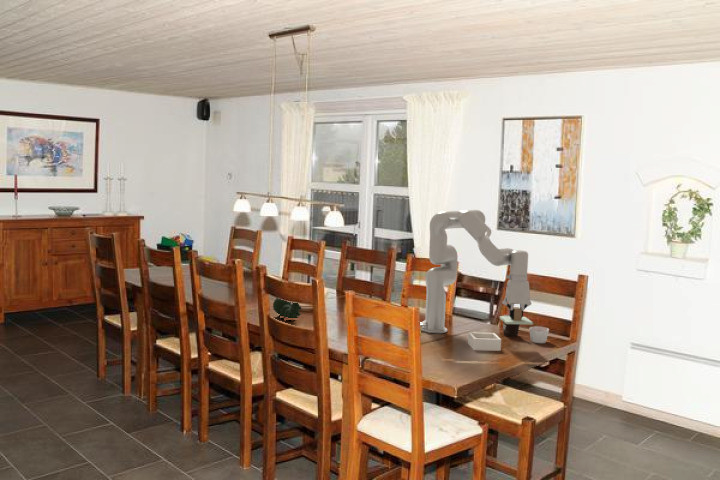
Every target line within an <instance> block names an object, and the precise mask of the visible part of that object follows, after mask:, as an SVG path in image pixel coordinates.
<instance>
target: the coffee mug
mask: <svg viewBox="0 0 720 480" xmlns="http://www.w3.org/2000/svg"><path fill="white" fill-rule="evenodd" d="M509 315H510V314H504V315H503V316H509ZM520 325H521V324H506V323H505V322H503V321H502V328H503V336H504V337H509V338H515V337H518V335H519V329H520Z"/></svg>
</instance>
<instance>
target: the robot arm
mask: <svg viewBox="0 0 720 480" xmlns="http://www.w3.org/2000/svg"><path fill="white" fill-rule="evenodd" d="M447 229H451V230H452V229H464V230H465V231H466V232H467V233H468V234H469V235H470V236H471V237H472V239H473V240H475V242H476V243H477V246H478V250H479V251H480V253H481V255H482V256H483V257H484V258H485V259H486V261H488V262H489V263H490V264H491V265H493V266H496V267H500V266H510V267H509V274H508V275H506V279H509V280H508V281H507V284H506V288H505V289H506V290H505V296H504V299H502V301H501V303H502V304H503V305H504V306H506V307H507V308H508V309H509V314H508V315H509V316H510V318H511V319H514V310H513V307H515V305H519V308H520V309H522V317H524V311H525V310H526V309H527V308H528V307H530V306H532V301H531V299H530V298H531V295H530V283H529V281H528V267H529V266H528V265H529V253H528V251H526V250H521V249H519V250H517V249H513V248H509V247H508V248H507V247H506V248H505V247H504V248H498V247H497V246H496V245H495V244H494V243H493V242H492V241H491V239H490V236H491V235H492V229H491V227H489V226H488V225H487V224H486V216H485V214H484V212H483V211H481V210H480V209H469V210H468V209H467V210H446V211H445V210H444V211H440V212H436V213H435V214H434V215H432V217H431V219H430V221H429V249H428V250H429V252H428V254H429V255H428V257H429V261H430V263H431V264H433V265H434V266H435V265H436V267H432V268H430V269H429V270H427V272H426V273H425V280H424V281H425V285H426V289H425V290H426V300H425V317H424V318H425V319H424V320H423V321H421V322H420V321H419V322H420V327H421V331H423V332H424V333H427V334H428V333H429V334H445V333H447V332H448V328H447V327H445V323H446V321H445V320H446V302H447V300H446V299H447V294H446V291H445V287H446V286H450V285H453V284H454V283H455V282H456V279H457V276H458V252H457V249H456V248H455V246H453V245H451V244H448V235H447V231H446V230H447ZM438 265H440V266H438ZM522 317H521V319H522Z"/></svg>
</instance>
